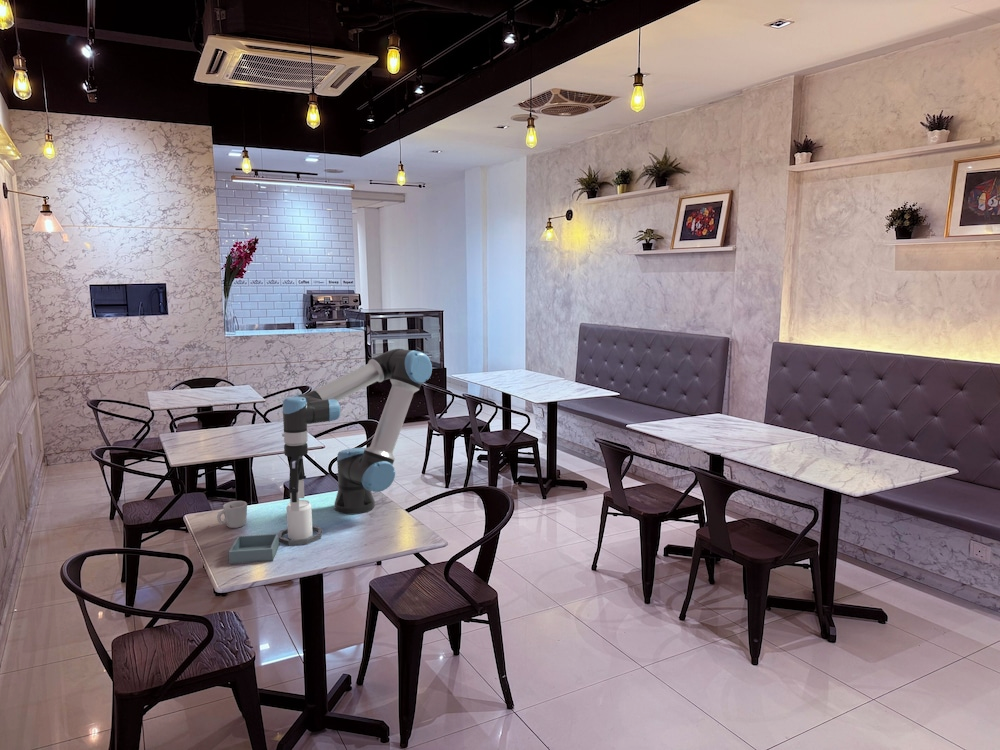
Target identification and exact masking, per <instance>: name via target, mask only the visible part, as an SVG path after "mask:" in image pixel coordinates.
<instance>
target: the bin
mask: <svg viewBox="0 0 1000 750" xmlns="http://www.w3.org/2000/svg"><path fill="white" fill-rule="evenodd" d="M279 547H280V542H279V533H267V534H253V535H252V534H251V535H250V534H249V535H248V534H247V535H238V536H237V537H236V538H235V540H234V542H233V544H232V545H231V547H230V549H229V550H228V560H229V561H228V563H229V565H235V564H250V563H251V564H253V563H265V562H273V561H274V559H275V557H276V555H277V552H278V550H279Z"/></svg>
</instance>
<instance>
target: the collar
mask: <svg viewBox="0 0 1000 750" xmlns="http://www.w3.org/2000/svg"><path fill="white" fill-rule="evenodd" d="M312 531H313V532H314V533H317V534H315V535H312V536H311V537H309V538H307V539H297V540H292V539H288V538H286V537H284V536H285V535H288V528H285V529H283V530H280V531H279V533H278V534H279V544H284V545H286V546H301V545H302V546H304V545H308V544H312V543H314V542H316V541H319V540H321V538H322V535H323V528H322V527H319V526H316V525H314V524H312Z"/></svg>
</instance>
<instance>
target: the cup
mask: <svg viewBox="0 0 1000 750" xmlns="http://www.w3.org/2000/svg"><path fill="white" fill-rule="evenodd" d="M247 511H248V503H247V502H246V501H244V500H233V501H228V502H226V503H224V504H223V507H222V510H221V511H219V512H218V514H217V517H216V518H217V522H218V523H219V524H221V525H226V526H227V527H228V528H230V529H236V528H241V527H244V526H245V525H246V523H247V514H248V512H247ZM222 515H223V516H224V519H223V521H222V520H221V517H222Z"/></svg>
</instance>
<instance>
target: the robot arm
mask: <svg viewBox="0 0 1000 750" xmlns="http://www.w3.org/2000/svg"><path fill="white" fill-rule="evenodd" d="M432 371H433V364H432V362H431V359H430V357H429V356H428V355H427V354H426V353H425V352H422V351H419V350H410V349H403V348H394V349H390V350H388V351H385V352H384V353H381V354H379V355H377V356H374V357H373V358H370V359H369V360H368V362H367V364H365V365H362V366H361V367H359V368H356V369H355V370H352V371H351V372H348V373H346V374H344V375H341V376H340V377H338V378H336V379H334V380H332V381H330V382H328V383H325V384H324V385H322V386H320V387H318V388H316V389H314V390H311V391H309V392H306V393H300V394H296V395H293V396H290V397H285V398H284V399H283V400H282V411H281V412H282V421H283V433H282V434H281V436H282V437H283V443H284V445H283V449H284V450H283V453H284V455H285V457H290V458H291V459H290V461H289V484H288V486H289V488H288V489H287V494H289V497H290V498H289V501H290V502H289V503H290V506H291V511H299V500H300V499H305V479H306V480H307V475H305V470H304V469H305V468H304V459H303V457H305V456H306V455H308V450H309V449H308V443H307V442H308V425H311V424H317V423H318V424H319V423H327V422H333V421H337V420H338V419H339V418H340V416H341V405H340V403H339V401H341V400H343V399H345V398H347V397H349V396H351V395H353V394H355V393H356V392H359V391H361V390H363V389H364V388H366V387H369V386H370V385H373V384H375V383H377V382H378V383H382V382H384V381H386V380H389V381H390V383H391V388H390V391H389V394H388V397H387V400H386V402H385V404H384V407H383V410H382V413H381V416H380V418H379V421H378V424H377V427H376V430H375V433H374V436H373V438H372V440H371V443H370V445H369V446H368V447H353V448H352V447H351V448H347V449H342V450H339V452H338V453H337V456H336V457H337V459H336V462H337V463H336V464H337V480H338V481H337V482H338V490H337V494H336V497H335V500H334V510H335V511H336V512H337V513H340V514H346V515H348V514H349V515H357V514H361V513H366V512H367V513H368V512H370V511H371V510H373V509H374V508H375V507H376V505H375V502H376V501H375V498H374V495H373V492H374V493H379V492H380V493H381V492H383V491H385V490H388V488H390V487H391V485H392V484H393V483H394V481H395V478H396V471H395V467H394V462H395V460H396V459H395V457H394V455H393V453H394V449H395V447H396V444H397V442H398V439H399V436H400V434H401V430H402V428H403V425H404V422H405V420H406V417H407V414H408V411H409V408H410V406H411V402H412V399H413V398H414V394H415V393H417V392H418V391H420V390H421V386H422V384H423V383H426V381H428V380H429V379H430V378H431V376H432V373H433V372H432Z"/></svg>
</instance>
